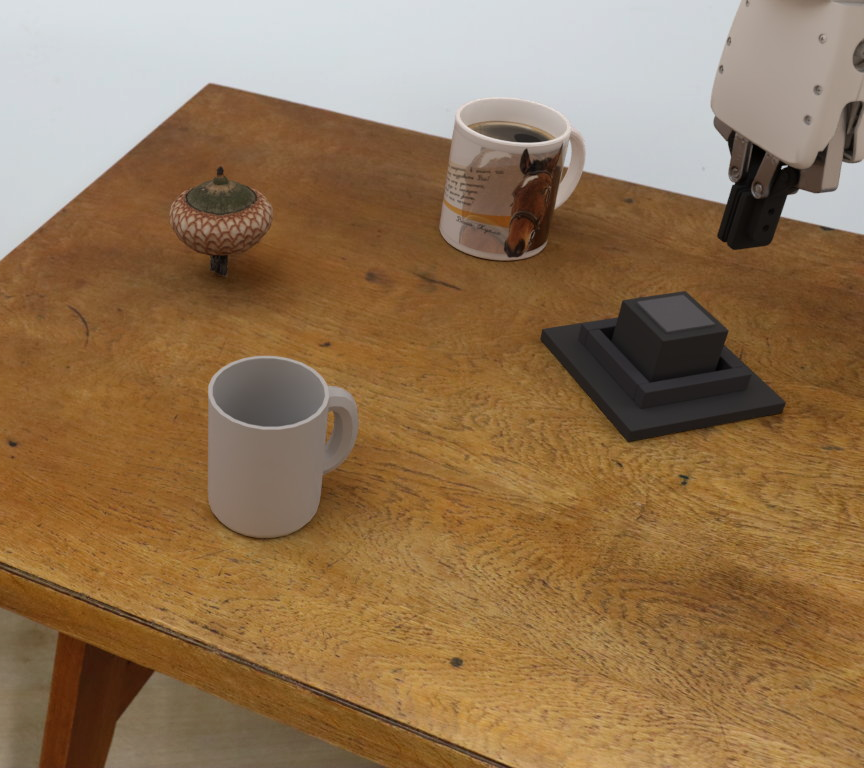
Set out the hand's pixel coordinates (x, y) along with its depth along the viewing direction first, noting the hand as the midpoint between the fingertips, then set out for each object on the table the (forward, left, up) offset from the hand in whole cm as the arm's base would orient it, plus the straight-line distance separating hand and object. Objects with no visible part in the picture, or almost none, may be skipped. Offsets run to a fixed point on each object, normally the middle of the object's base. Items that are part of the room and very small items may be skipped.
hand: (743, 241), depth 74 cm
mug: (+26, +2, -14) cm, 29 cm away
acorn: (+25, +29, -14) cm, 41 cm away
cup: (-2, +32, -14) cm, 35 cm away
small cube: (+3, +1, -12) cm, 13 cm away
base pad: (+3, +1, -13) cm, 14 cm away
